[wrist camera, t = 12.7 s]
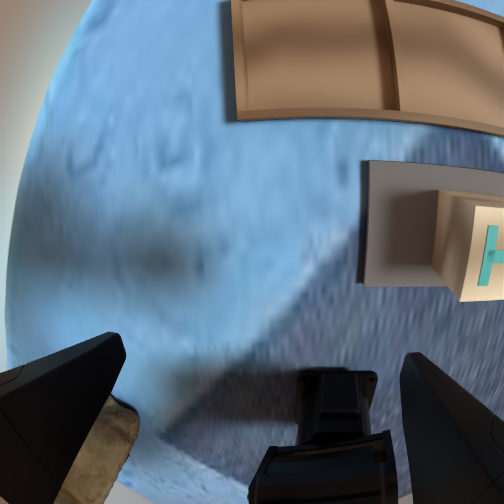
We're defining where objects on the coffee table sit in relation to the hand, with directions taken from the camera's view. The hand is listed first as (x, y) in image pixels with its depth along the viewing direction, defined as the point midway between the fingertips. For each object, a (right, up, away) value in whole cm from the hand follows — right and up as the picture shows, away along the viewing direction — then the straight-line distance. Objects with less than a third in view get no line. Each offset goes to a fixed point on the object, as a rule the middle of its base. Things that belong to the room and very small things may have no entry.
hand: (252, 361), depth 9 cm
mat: (+14, +5, +8) cm, 17 cm away
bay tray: (+13, +15, +5) cm, 21 cm away
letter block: (+14, +5, +8) cm, 17 cm away
